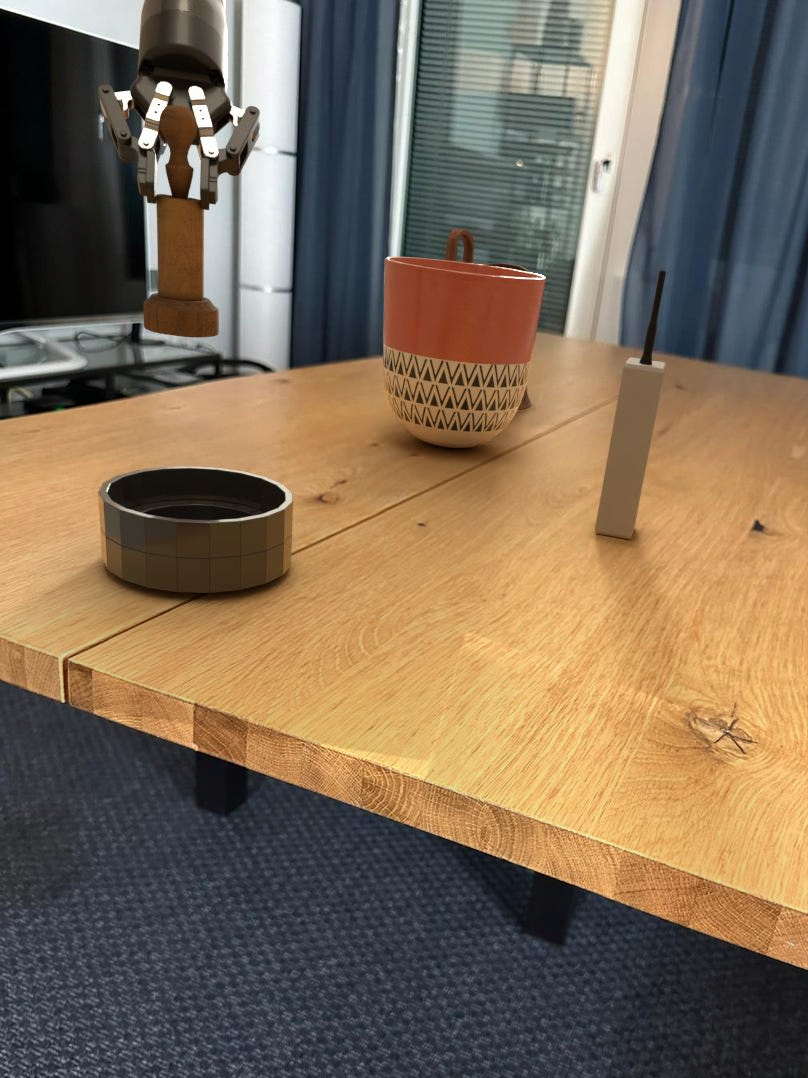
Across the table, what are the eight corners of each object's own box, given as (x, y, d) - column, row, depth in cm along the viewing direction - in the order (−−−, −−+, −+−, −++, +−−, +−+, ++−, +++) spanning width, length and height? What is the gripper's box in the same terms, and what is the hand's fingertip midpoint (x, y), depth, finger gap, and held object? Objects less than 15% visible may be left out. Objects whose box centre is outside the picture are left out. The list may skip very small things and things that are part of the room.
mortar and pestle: (211, 340, 82) (210, 107, 74) (135, 332, 81) (126, 96, 73) (224, 330, 88) (225, 114, 80) (154, 322, 87) (147, 103, 79)
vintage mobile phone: (634, 526, 97) (684, 271, 86) (630, 540, 92) (683, 273, 82) (599, 520, 97) (644, 266, 87) (593, 533, 93) (641, 267, 82)
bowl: (68, 583, 68) (62, 504, 65) (151, 525, 80) (148, 457, 78) (258, 612, 67) (259, 533, 64) (310, 548, 80) (313, 481, 77)
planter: (475, 473, 108) (497, 278, 99) (342, 438, 116) (351, 255, 107) (547, 448, 124) (572, 278, 115) (426, 419, 132) (440, 258, 123)
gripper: (93, -8, 78) (80, 152, 73) (265, 21, 81) (265, 175, 76) (105, 71, 85) (94, 222, 79) (264, 94, 88) (263, 241, 83)
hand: (178, 198), depth 78 cm, fingers closed on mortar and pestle, 3 cm apart
